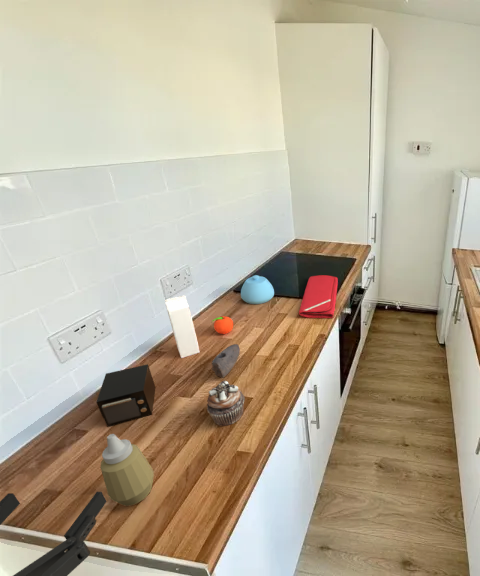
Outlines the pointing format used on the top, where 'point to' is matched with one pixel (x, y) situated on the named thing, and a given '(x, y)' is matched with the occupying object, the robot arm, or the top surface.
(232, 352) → the perforated stone tool
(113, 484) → the squeeze bottle
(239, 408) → the cupcake
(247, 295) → the sugar bowl
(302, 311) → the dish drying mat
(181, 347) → the milk
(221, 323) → the clementine
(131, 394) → the toaster oven
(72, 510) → the top surface
